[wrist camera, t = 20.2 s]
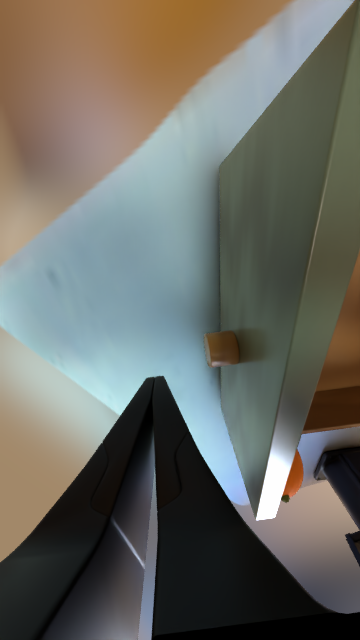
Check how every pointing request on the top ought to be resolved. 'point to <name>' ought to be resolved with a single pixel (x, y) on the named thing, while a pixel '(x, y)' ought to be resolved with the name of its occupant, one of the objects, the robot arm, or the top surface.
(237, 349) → the drawer
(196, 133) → the top surface
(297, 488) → the orange
